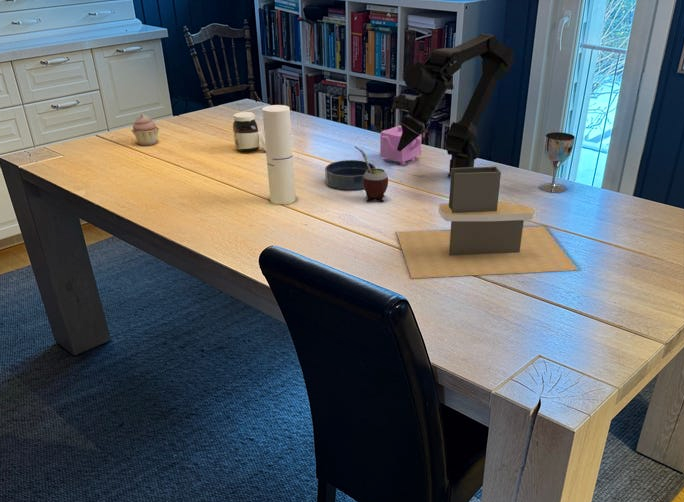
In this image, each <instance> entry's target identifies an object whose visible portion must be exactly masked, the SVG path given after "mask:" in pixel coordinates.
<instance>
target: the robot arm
mask: <svg viewBox="0 0 684 502" xmlns="http://www.w3.org/2000/svg"><path fill="white" fill-rule="evenodd" d="M513 52H514V51H513V50H512V49H511V48H510V47H508V45H506V44H504V43H503V42H501V41H500V40H499V39H498V38H497V37H496V36H495V35H494V34H488V33H480V34H478V35H477V36H476V37H473V38H471V39H469V40H466V41H465V42H463V43H460V44H458V45H456V46H454V47H444V48H436V49H434V50H432V52H431V54H430V55H429V57H427V59H426V60H425V61H424V62H422V61H415V62H414V65H413V66H411V67H410V68H409V69H408V70H407V71H406V72H405V75H404V85H405V86H406V87H407V88H409V89H411V90H413V91H415V92H416V93H419V95H418V96H417V95H416V97H415V98H410V97H407V94H402V93H400V94H399V95H394V97H393V100H392V109H393V110H402V111H407V114H404V115H403V116H402V118H401V120H400V125H401V127H402V135H401V138H400V141H399V144H398V147H397V150H398V151H399V152H400V151H401V150H403V149H404V148H405V147H406V146H407V145H409V144H410V143H411V142H412V141H413V140H415V139H416V138H417V137H418V136H419V135H421V134H424V132H426V130H427V129H428V127H430V125H431V118H432V116H433V115H434V113H435V111H437V109H438V106H439V105H440V103H441V101H442V100H443V97H444V96H445V94H446V92H447V90H448V89H449V90H452V91H453V90H454V89H455V88H454V83H453V78H451V77H450V76H453V75H455V73H457V72H458V71H459V70H461V68H462V65H463V64H465V63H467V62H468V61H470V60H472V59H475V58H477V57H481V63H480V64H481V75H480V78H479V80H478V82H477V84H476V86H475V89H474V91H473V93H472V95H471V96H470V100H469V102H468V103H467V106H466V108H465V110H464V113H463V115H462V117H461V119H460V120H459V121H458V122H455V121H453V122H451V124H450V127H449V129H448V131H447V133H446V137H445V147H446V148H445V149H446V152H447V155H449V156H451V158H450V159H449V172H448V174H447V177H449V178H451V168H469V167H475V160H477V159H478V158H480V154H481V151H482V150H481V148H480V147H479V145H478V144H477V141H478V140H477V139H478V131H477V127H478V125H479V123H480V120H481V118H482V115H483V114H484V112H485V109H486V107H487V105H488V103H489V100H490V98H491V96H492V94H493V92H494V89H495V87H496V85H497V83H498V81H500V80H501V79H502V78H503V77H505V76H506V75H507V74H508V73H509V71H510V69H511V67H512V66H513V64H514V61H515V55H514V53H513Z"/></svg>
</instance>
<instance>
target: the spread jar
mask: <svg viewBox="0 0 684 502" xmlns="http://www.w3.org/2000/svg"><path fill="white" fill-rule="evenodd" d="M233 120H234V121H233V123H232V134H233V141H234V146H235V150H236V151H237V152H239V153H244V154H250V153H254V152H257V151H258V150H260V145H261V147H262V148H263V150H264V151H265V152H266V145H265V134H264V129H261V130H259V127H258V124H257V121H256V119H255V113H253V112H250V111H241V112H237V113H234V114H233Z"/></svg>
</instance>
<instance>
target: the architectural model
mask: <svg viewBox="0 0 684 502" xmlns="http://www.w3.org/2000/svg"><path fill="white" fill-rule="evenodd" d="M501 175H502V171H501V170H500V169H499V168H498V166H474V167H469V168H451V177H450V181H449V182H450V183H449V195H448V197H449V198H448V202H446V203H445V202H441V203H439V204H438V214H439V215H440V218H442V220H444V221H446V222H450V230H432V231H431V230H430V231H405V232H396V236H397V238H398V242H399V244H400V247H401V251H402V253H403V257H404V260H405V264H406V266H407V269H408V271H409V275H410V279H423V278H424V279H425V278H426V279H427V278H446V277H465V276H466V277H467V276H485V275H488V276H489V275H504V274H505V275H507V274H526V273H545V272H568V271H579V269H578V267H577V266H576V265H575V264H574V263H573V261H572V259H570V257H569V256H568V255H567V254H566V252H565V251H564V249H562V247H561V246H560V245H559V243H558V242H557V241H556V240H555V238H554V237H553V236H552V235H551V234H550V232H549V231H548V230H547V228H546V227H545V226H544V225H543V226H542V225H541V226H524V222H525V221H532V220H535V219H536V213H537V211H536V210H535V209H534V207H532V206H527V205H524V204H518V203H513V202H509V201H508V202H507V201H502V200H501V201H500V200H499V195H500V186H501Z"/></svg>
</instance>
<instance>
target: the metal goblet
mask: <svg viewBox="0 0 684 502" xmlns="http://www.w3.org/2000/svg"><path fill="white" fill-rule="evenodd" d="M575 141H576V137H575V135H573V134H571V133H567V132H560V131H558V132H555V131H554V132H548V133H546V135H545V139H544V154H545V157H546V159H547V161H548V162H549V164H550V165H551V168H552V179H551V183H544V184H540V187H539V188H540V190H541V191H544V192H546V193H562V192H565V190H566V188H565V187H564V186H563V185H560V184H557V183H556V177H557V174H558V170H559V168H560V167H561V166H562V165H563V164H565V162H566V161H567V160H568V159H569V158H570V157H571V154H572V152H573V149H574V145H575Z"/></svg>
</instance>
